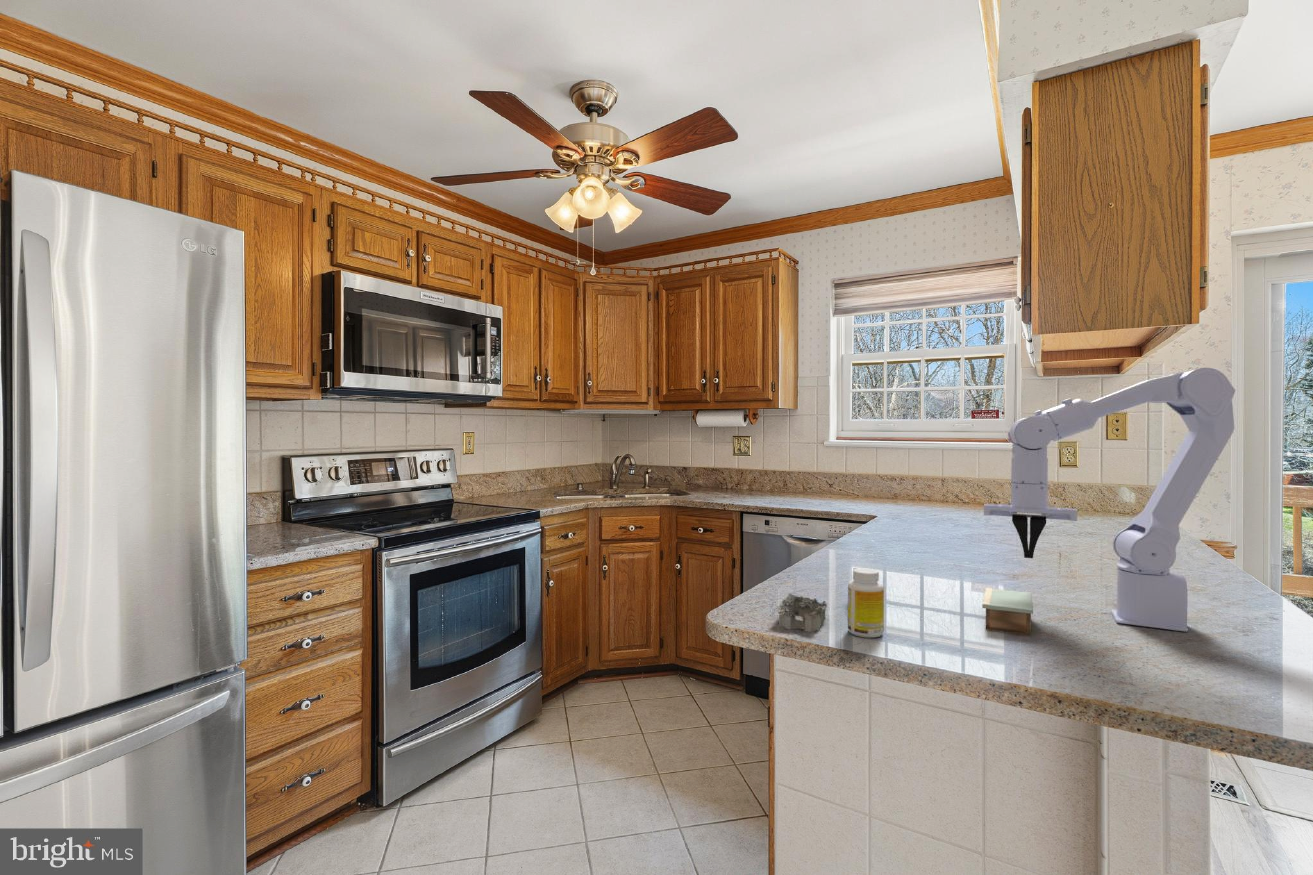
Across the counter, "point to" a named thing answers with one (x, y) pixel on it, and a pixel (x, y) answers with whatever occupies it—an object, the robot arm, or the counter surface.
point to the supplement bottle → (865, 604)
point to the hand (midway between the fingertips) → (1028, 557)
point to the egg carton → (801, 613)
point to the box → (1008, 622)
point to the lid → (1008, 600)
